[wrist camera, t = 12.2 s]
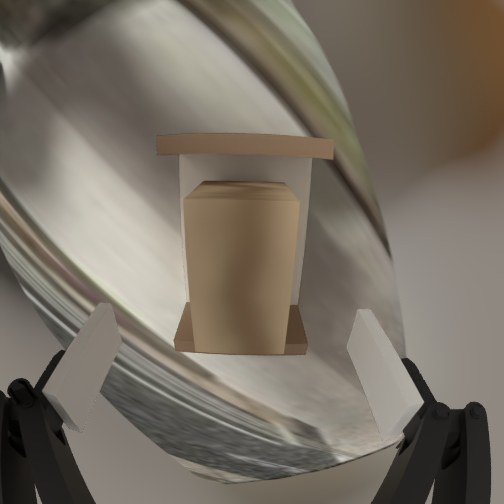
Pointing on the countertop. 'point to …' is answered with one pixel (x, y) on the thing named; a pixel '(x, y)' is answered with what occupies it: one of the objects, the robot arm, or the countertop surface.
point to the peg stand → (248, 169)
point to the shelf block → (240, 264)
